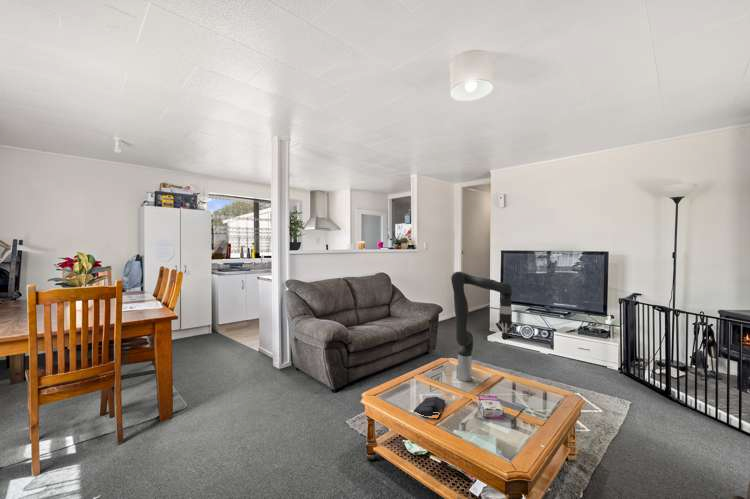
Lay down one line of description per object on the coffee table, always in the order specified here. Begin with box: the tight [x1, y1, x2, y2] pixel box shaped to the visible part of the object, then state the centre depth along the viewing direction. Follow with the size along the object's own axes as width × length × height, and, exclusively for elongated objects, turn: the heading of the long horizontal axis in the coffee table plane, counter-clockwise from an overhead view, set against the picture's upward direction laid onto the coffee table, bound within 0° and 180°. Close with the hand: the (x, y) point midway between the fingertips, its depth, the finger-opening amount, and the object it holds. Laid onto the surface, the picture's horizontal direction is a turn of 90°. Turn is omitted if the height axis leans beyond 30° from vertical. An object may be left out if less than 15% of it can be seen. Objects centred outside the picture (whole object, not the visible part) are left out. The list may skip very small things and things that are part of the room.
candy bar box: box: [476, 394, 505, 419], centre depth 183 cm, size 11×5×16 cm
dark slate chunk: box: [413, 396, 446, 416], centre depth 186 cm, size 15×22×5 cm
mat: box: [497, 398, 525, 421], centre depth 186 cm, size 15×18×1 cm
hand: (505, 338), depth 215 cm, fingers closed
